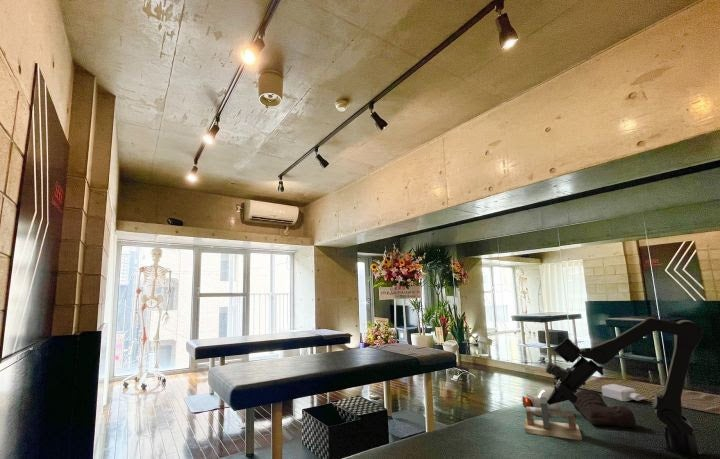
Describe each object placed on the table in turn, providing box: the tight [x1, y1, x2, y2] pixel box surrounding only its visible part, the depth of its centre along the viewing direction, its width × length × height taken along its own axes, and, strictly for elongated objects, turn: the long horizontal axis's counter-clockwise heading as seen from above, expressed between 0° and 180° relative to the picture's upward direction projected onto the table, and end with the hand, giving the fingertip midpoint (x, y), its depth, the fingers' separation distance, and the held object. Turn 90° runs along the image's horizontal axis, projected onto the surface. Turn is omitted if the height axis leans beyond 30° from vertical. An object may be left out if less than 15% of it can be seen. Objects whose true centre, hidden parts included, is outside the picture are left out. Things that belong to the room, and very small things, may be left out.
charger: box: [601, 383, 647, 402], centre depth 152 cm, size 5×9×15 cm
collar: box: [540, 397, 550, 429], centre depth 122 cm, size 2×8×8 cm, turn 153°
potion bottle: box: [522, 386, 563, 410], centre depth 141 cm, size 9×10×15 cm
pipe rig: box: [524, 407, 583, 441], centre depth 121 cm, size 17×10×7 cm, turn 64°
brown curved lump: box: [572, 389, 637, 429], centre depth 128 cm, size 10×15×15 cm
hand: (547, 403), depth 122 cm, fingers closed
